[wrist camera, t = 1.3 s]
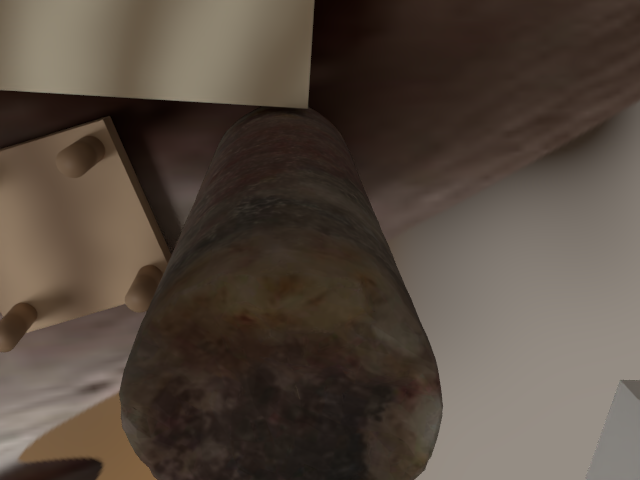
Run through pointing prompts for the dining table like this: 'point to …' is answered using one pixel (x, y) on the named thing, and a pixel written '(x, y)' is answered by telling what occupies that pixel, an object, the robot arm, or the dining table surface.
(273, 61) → the small wooden stool
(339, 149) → the brown wooden log
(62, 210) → the upturned stool decor
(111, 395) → the dining table surface
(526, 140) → the dining table surface
